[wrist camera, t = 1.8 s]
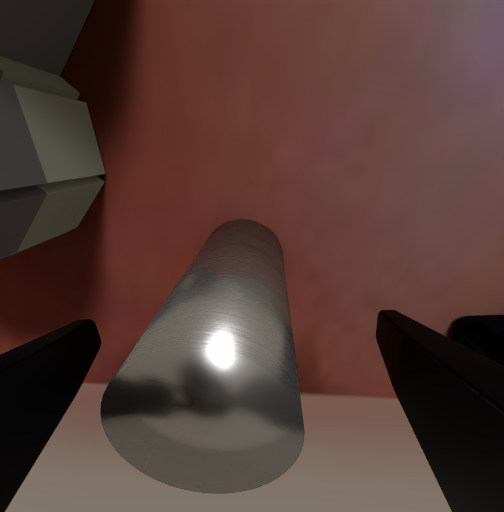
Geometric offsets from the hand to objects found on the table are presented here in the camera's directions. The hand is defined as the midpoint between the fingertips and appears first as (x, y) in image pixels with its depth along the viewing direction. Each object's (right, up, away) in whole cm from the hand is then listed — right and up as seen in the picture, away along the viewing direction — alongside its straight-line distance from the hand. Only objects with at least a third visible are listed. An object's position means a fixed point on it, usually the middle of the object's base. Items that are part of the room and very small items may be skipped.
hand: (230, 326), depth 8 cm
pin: (0, +2, +5) cm, 6 cm away
